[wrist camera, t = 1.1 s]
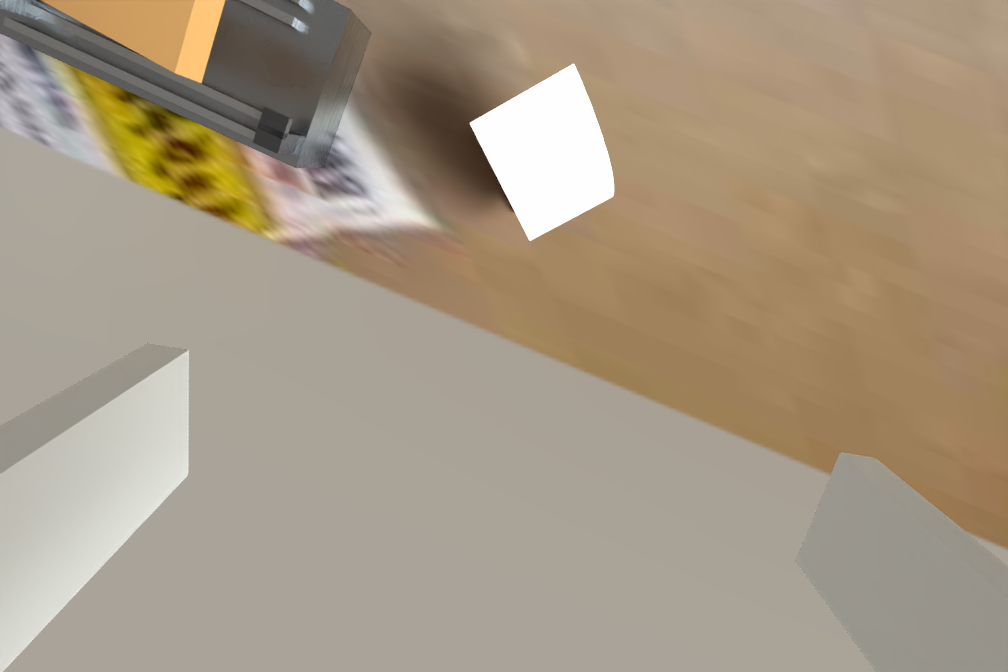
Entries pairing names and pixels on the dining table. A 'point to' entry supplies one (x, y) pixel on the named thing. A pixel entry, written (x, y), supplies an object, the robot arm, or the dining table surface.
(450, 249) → the dining table surface
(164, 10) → the tan flat bar
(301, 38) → the block
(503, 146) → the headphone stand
